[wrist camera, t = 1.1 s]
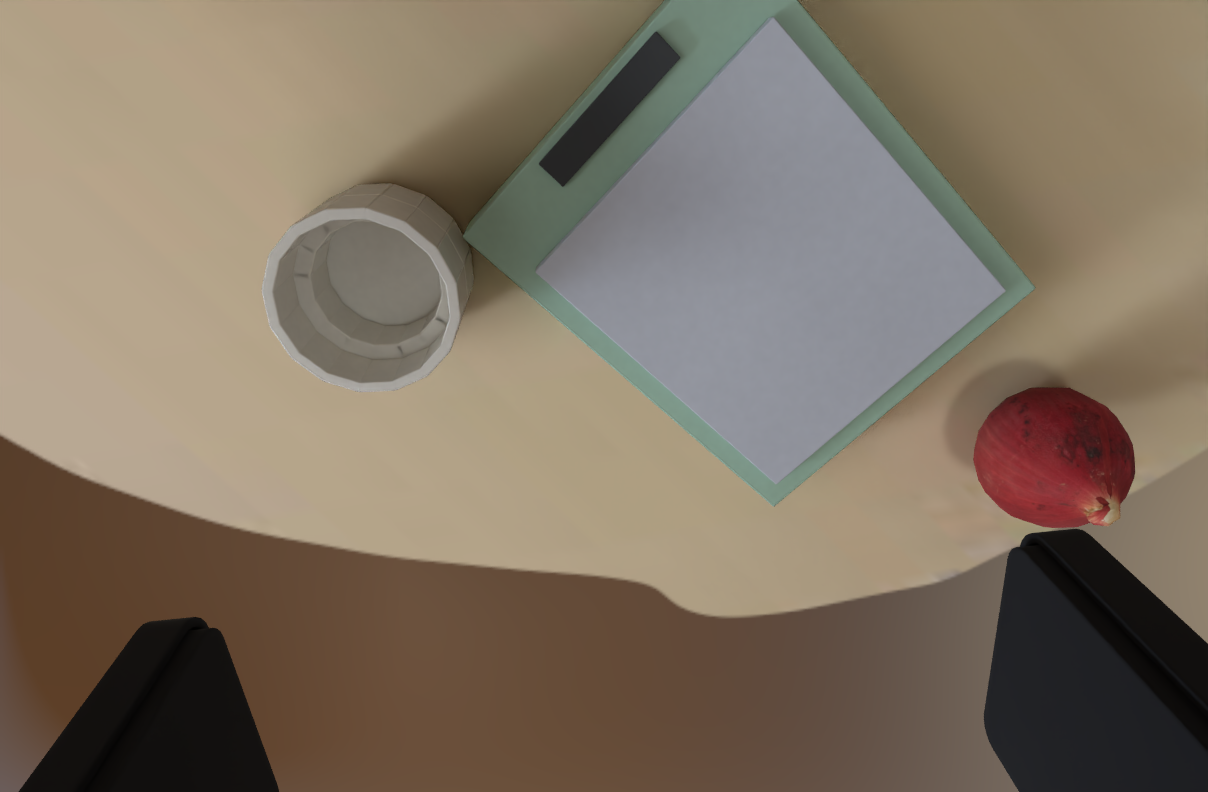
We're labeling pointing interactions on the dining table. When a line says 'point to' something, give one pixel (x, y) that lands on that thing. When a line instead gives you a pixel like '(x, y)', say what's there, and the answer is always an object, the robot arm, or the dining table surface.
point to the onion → (1055, 458)
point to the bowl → (369, 287)
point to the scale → (748, 237)
